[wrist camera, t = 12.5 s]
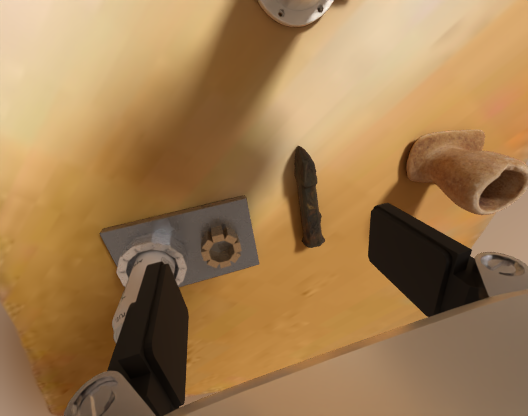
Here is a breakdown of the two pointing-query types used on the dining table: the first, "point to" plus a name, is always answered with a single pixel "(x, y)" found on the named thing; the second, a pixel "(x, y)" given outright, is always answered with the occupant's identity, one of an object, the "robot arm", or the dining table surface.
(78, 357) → the dining table surface
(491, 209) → the stone cup
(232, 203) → the manifold board
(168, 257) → the energy drink can
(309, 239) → the hand tool
